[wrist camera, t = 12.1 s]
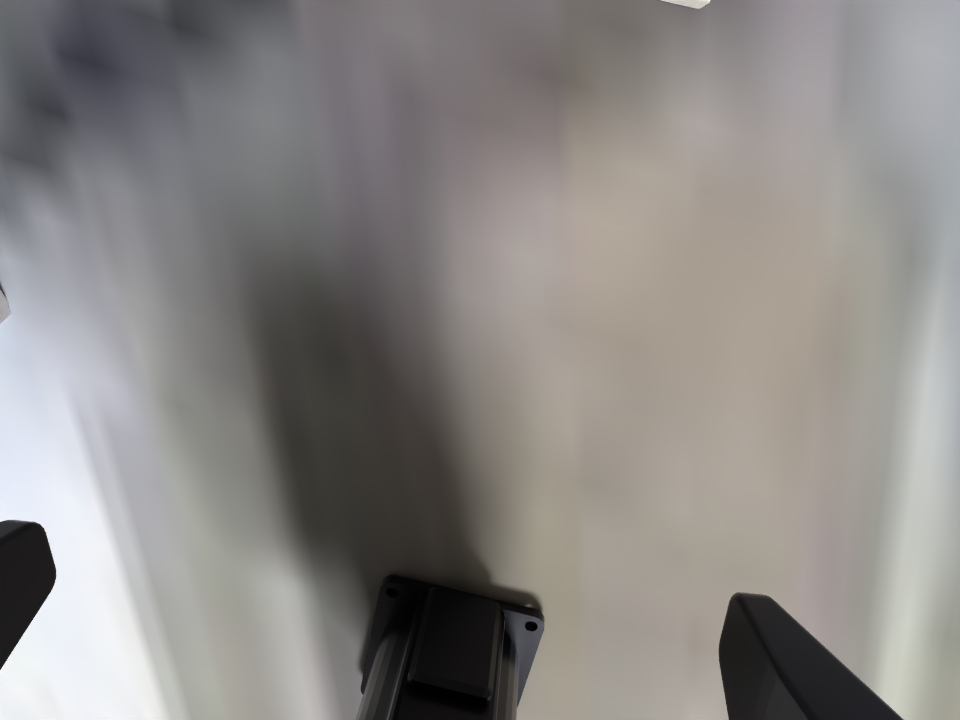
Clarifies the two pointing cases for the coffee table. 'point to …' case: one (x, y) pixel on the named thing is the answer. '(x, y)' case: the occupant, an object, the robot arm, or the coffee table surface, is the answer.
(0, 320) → the grey blocky piece
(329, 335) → the coffee table surface
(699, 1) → the plate
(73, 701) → the coffee table surface
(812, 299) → the coffee table surface
